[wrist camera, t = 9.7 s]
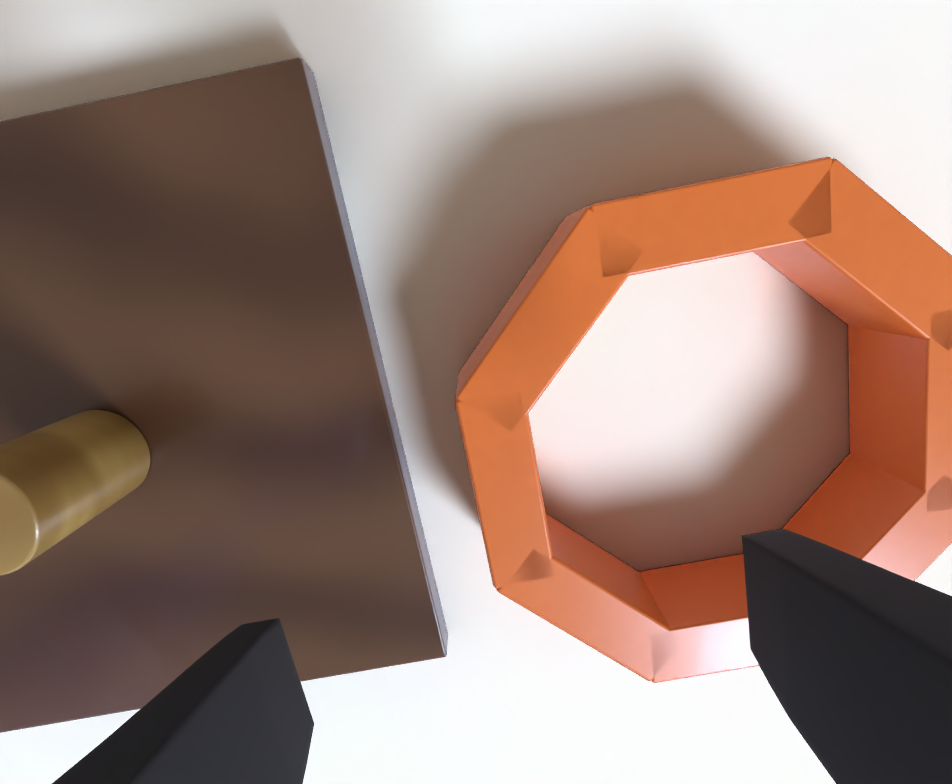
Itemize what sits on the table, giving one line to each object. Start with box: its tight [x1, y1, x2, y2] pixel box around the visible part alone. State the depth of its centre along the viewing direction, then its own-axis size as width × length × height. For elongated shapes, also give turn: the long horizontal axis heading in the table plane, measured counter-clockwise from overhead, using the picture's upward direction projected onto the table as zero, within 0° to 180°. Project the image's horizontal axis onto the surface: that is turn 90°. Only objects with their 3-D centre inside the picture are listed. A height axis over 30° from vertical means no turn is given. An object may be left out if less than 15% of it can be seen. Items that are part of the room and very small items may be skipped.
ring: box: [455, 157, 952, 683], centre depth 14 cm, size 12×12×3 cm
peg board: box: [0, 58, 448, 733], centre depth 12 cm, size 16×15×5 cm
